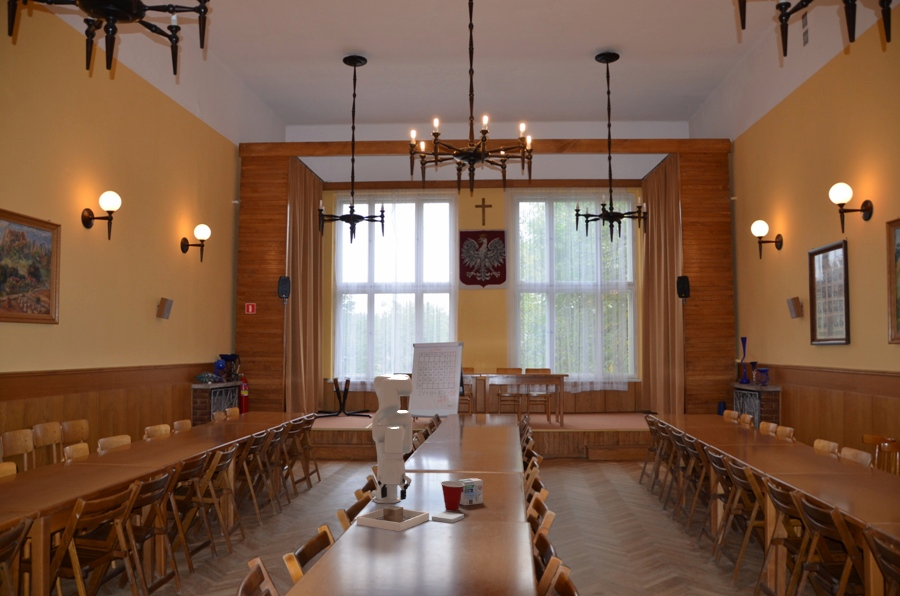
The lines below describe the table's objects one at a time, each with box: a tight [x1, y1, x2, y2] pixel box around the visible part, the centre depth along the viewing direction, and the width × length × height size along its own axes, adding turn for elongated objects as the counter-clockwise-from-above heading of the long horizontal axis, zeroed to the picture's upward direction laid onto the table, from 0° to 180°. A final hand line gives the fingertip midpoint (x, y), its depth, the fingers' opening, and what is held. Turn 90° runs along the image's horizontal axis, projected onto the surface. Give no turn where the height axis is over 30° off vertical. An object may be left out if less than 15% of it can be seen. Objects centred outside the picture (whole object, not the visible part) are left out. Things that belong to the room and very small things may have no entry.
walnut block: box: [382, 505, 404, 523], centre depth 294 cm, size 6×6×6 cm
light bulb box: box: [456, 477, 484, 506], centre depth 330 cm, size 11×7×11 cm, turn 122°
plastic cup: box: [440, 480, 465, 512], centre depth 316 cm, size 11×11×12 cm
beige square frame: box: [356, 506, 430, 532], centre depth 293 cm, size 22×22×3 cm
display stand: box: [431, 511, 465, 524], centre depth 299 cm, size 10×10×2 cm
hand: (393, 498), depth 293 cm, fingers open, 9 cm apart
